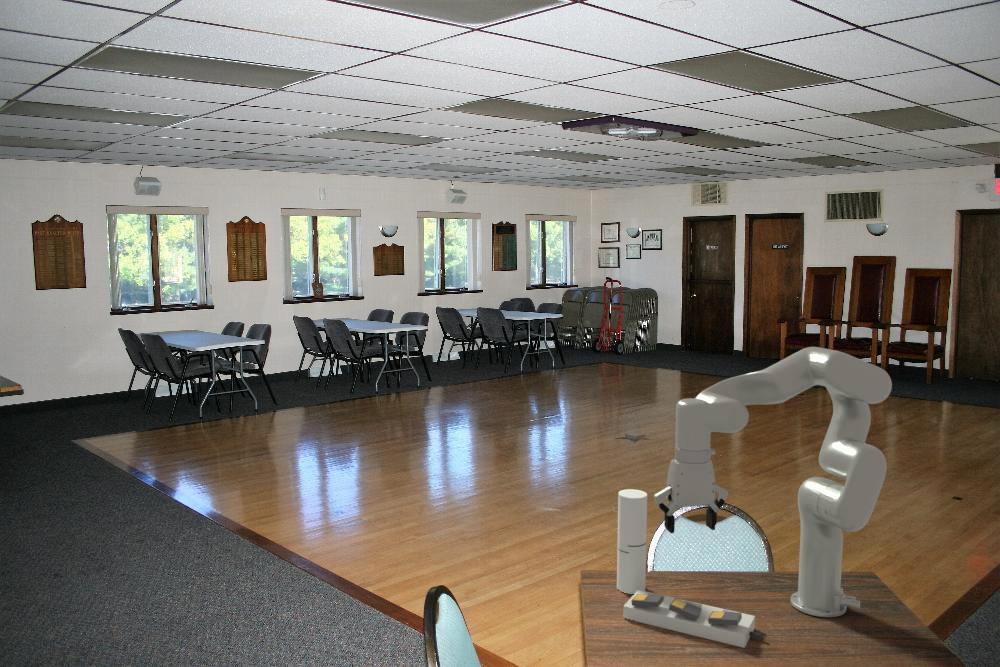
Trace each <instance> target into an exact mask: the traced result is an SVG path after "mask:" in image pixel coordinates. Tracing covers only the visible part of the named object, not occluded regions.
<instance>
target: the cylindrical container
mask: <svg viewBox="0 0 1000 667" xmlns="http://www.w3.org/2000/svg"><path fill="white" fill-rule="evenodd" d="M617 495H618V496H617V550H616V552H617V555H616V556H617V558H616V560H617V561H616V590H617V589H619V590H620V591H622V592H624V593H628V594H635V593H636V591H637V590H641V591H646V571H647V570H646V569H647V568H646V566H647V527H648V526H647V522H648V521H647V520H648V519H647V518H648V493H647V492H646V491H644V490H641V489H632V488H627V489H622V490H619V491H618V494H617ZM620 591H619V592H620ZM624 593H623V594H624ZM628 594H627V595H628Z"/></svg>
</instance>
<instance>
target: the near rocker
mask: <svg viewBox="0 0 1000 667" xmlns="http://www.w3.org/2000/svg"><path fill="white" fill-rule="evenodd" d="M735 612H736V611H735ZM735 612H718V611H713V612H712V613H711V615H710V616H709V618H708V622H709V624H721V625H736V626H738V624H739V622H740V621H741V619H742V615H741V613H742V612H739V613H735Z"/></svg>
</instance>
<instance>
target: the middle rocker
mask: <svg viewBox="0 0 1000 667" xmlns="http://www.w3.org/2000/svg"><path fill="white" fill-rule="evenodd" d="M674 598H675V599H674V600H673V601H672V603H671V604H670V606H669V610H671V611H673V612H676V613H678V614H681V615H683V616H686V617H688V618H691V619H693V620H697V618H698V617H699V615H700V614H701V610H702V609H701V608H699V607H696V606H694V605H691V604H689V603H686V602H684V601H681V600H679V599H680V598H677V597H674ZM676 598H677V599H676Z"/></svg>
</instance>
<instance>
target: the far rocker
mask: <svg viewBox="0 0 1000 667" xmlns="http://www.w3.org/2000/svg"><path fill="white" fill-rule="evenodd" d="M663 595H664V594H659V595H647V594H637V595H636V596H635V597H634V598H633V599H632V600H631V602H632V606H647V607H659V606H660V604H661V603H662V602H663V601H664V599H663Z"/></svg>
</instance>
